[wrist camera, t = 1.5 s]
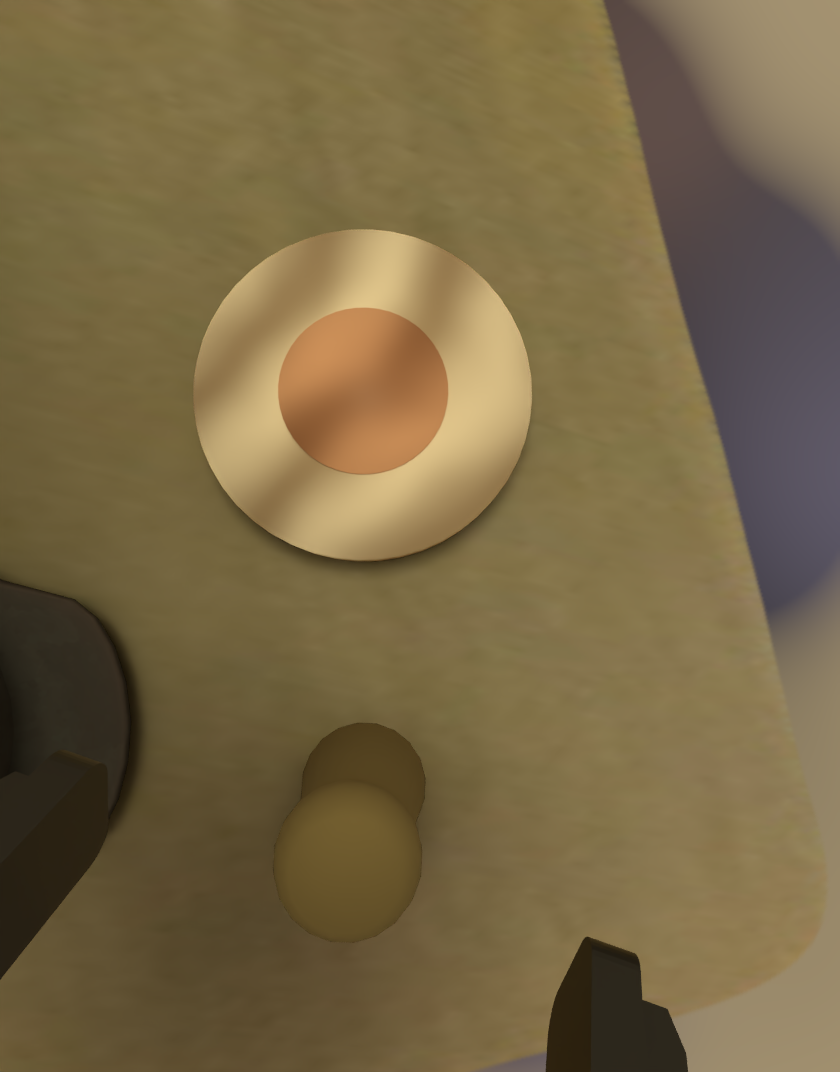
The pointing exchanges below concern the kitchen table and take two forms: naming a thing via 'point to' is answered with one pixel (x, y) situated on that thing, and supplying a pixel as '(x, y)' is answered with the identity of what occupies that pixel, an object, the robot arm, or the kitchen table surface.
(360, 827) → the brown pepper shaker
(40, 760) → the casserole
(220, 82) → the kitchen table surface
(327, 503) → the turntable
